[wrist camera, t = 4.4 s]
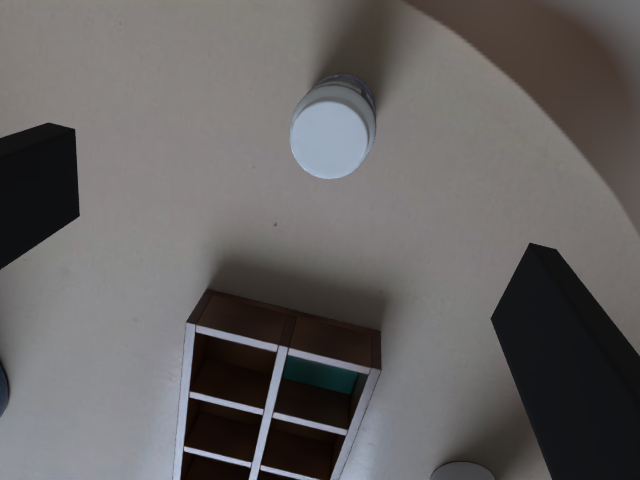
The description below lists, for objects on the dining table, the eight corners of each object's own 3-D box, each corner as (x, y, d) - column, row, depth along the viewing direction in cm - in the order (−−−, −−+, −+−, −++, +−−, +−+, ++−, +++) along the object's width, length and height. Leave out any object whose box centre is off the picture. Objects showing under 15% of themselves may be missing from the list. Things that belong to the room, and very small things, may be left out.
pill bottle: (370, 149, 30) (368, 192, 23) (302, 140, 30) (279, 181, 23) (381, 77, 28) (383, 99, 20) (309, 68, 28) (285, 87, 21)
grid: (381, 331, 37) (381, 370, 33) (323, 487, 48) (319, 531, 44) (206, 288, 37) (185, 322, 33) (188, 454, 48) (170, 495, 44)
